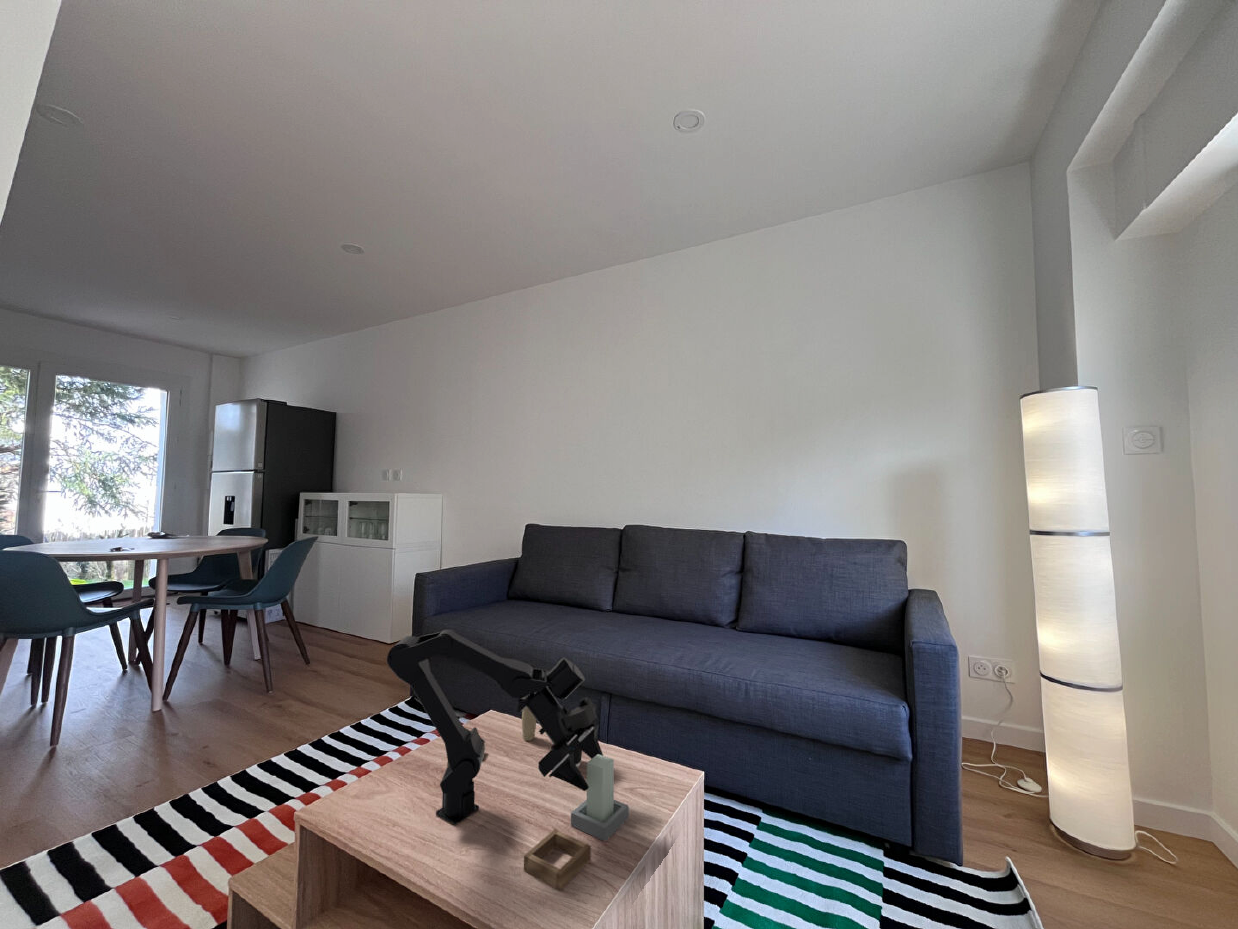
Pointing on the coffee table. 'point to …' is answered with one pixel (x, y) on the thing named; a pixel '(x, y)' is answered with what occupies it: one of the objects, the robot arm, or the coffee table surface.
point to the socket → (597, 827)
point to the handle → (528, 725)
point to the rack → (550, 872)
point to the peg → (600, 788)
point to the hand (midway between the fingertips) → (596, 777)
